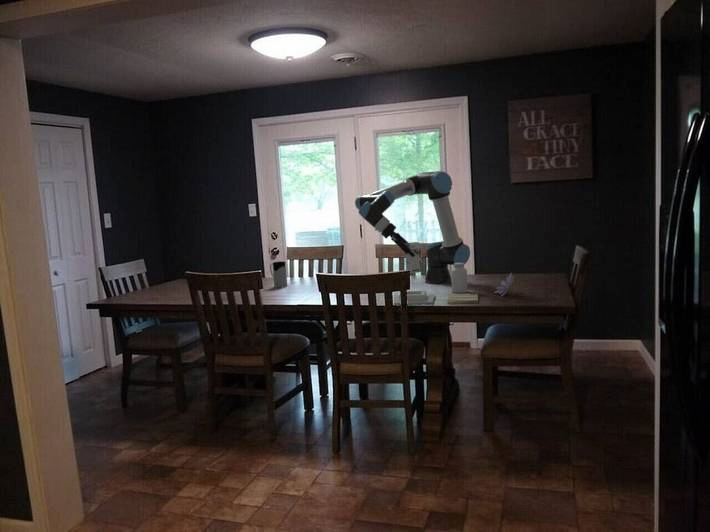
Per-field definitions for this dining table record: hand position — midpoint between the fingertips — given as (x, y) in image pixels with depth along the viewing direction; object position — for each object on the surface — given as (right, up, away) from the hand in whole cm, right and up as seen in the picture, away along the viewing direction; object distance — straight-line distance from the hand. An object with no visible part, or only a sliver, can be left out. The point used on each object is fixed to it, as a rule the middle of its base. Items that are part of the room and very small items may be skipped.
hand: (420, 259), depth 286 cm
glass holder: (-78, -16, +75) cm, 110 cm away
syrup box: (-3, -6, +2) cm, 7 cm away
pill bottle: (+23, -17, +20) cm, 34 cm away
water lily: (+42, -18, +5) cm, 46 cm away
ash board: (+21, -19, -1) cm, 28 cm away
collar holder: (-3, -20, +4) cm, 21 cm away
